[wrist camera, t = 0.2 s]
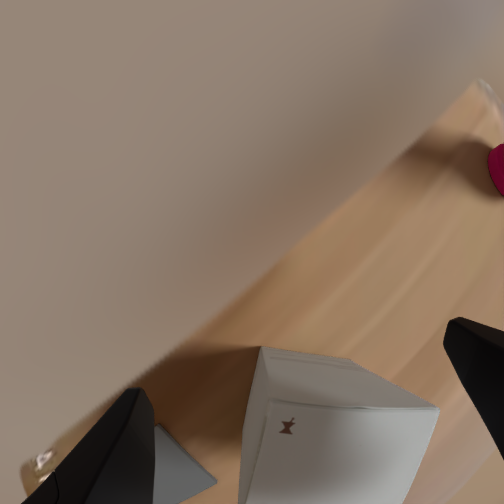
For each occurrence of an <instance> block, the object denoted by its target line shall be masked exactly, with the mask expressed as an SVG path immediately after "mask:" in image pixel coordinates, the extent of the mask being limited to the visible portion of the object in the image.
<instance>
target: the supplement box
mask: <svg viewBox="0 0 504 504" xmlns="http://www.w3.org/2000/svg"><path fill="white" fill-rule="evenodd" d="M439 413H440V408H438V407H437V406H435V405H433V404H431V403H429V402H428V401H426V400H424V399H422V398H420V397H418V396H417V395H415V394H413V393H411V392H409V391H407V390H405V389H403V388H401V387H399V386H397V385H395V384H393V383H392V382H390V381H388V380H386V379H384V378H382V377H380V376H378V375H377V374H375V373H373V372H371V371H369V370H367V369H365V368H364V367H362V366H360V365H358V364H357V363H355V362H353V361H352V360H350V359H343V358H337V357H330V356H322V355H315V354H308V353H301V352H295V351H288V350H282V349H276V348H270V347H264V346H261V347H260V351H259V356H258V360H257V365H256V369H255V373H254V378H253V382H252V386H251V391H250V395H249V400H248V405H247V410H246V415H245V420H244V424H243V429H242V449H241V465H240V478H239V494H238V504H402V503H403V501H404V499H405V497H406V495H407V493H408V491H409V488H410V486H411V484H412V482H413V480H414V477H415V475H416V473H417V470H418V468H419V465H420V463H421V461H422V458H423V456H424V454H425V451H426V449H427V446H428V444H429V441H430V439H431V436H432V433H433V430H434V428H435V425H436V422H437V419H438V416H439Z"/></svg>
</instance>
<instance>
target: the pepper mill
mask: <svg viewBox="0 0 504 504" xmlns="http://www.w3.org/2000/svg"><path fill="white" fill-rule="evenodd" d="M488 167H489V171H490V175H491V177H492V180H493V182H494V184H495V185H496V187H497V189H498V190H499V191H500V193H501V194H502V195H503V196H504V144H500V145H498V146H497V147H496V148H494V149H493V150H492V151H491V152H490V154H489V156H488Z"/></svg>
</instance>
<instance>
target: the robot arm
mask: <svg viewBox="0 0 504 504" xmlns="http://www.w3.org/2000/svg"><path fill="white" fill-rule="evenodd" d="M443 346H444V349H445V351H446V353H447V355H448V357H449V359H450V361H451V363H452V365H453V367H454V369H455V371H456V373H457V375H458V377H459V379H460V381H461V383H462V385H463V387H464V388H465V390H466V392H467V393H468V395H469V397H470V398H471V400H472V402H473V404H474V405H475V407H476V409H477V411H478V412H479V414H480V416H481V418H482V419H483V421H484V423H485V425H486V427H487V428H488V430H489V432H490V434H491V436H492V438H493V440H494V442H495V444H496V446H497V448H498V449H499V452H500V454H501V456H502V458H503V460H504V331H501V330H498V329H495V328H492V327H489V326H486V325H483V324H480V323H478V322H475V321H472V320H469V319H466V318H463V317H457V318H454V319H452V320H450V321H449V322H448V324H447V328H446V332H445V336H444V340H443ZM154 476H155V430H154V410H153V406H152V404H151V403H150V401H149V399H148V397H147V395H146V393H145V391H144V390H143V389H142V388H140V387H137V388H128V389H126V390H125V391H124V393H123V394H122V395H121V396H120V397H119V398H118V399H117V400H116V401H115V403H114V404H113V405H112V406H111V407H110V408H109V409H108V410H107V412H106V413H105V414H104V415H103V416H102V417H101V418H100V419H99V420H98V422H97V423H96V424H95V425H94V426H93V427H92V428H91V429H90V431H89V432H88V433H87V434H86V435H85V436H84V437H83V438H82V439H81V441H80V442H79V443H78V444H77V445H76V446H75V447H74V448H73V450H72V451H71V452H70V453H69V454H68V455H67V456H66V457H65V458H64V460H63V461H62V462H61V463H60V464H59V465H58V466H57V467H56V469H55V472H54V471H53V472H52V473H51V474H50V475H49V476H48V477H47V479H46V480H45V481H44V482H43V483H42V484H41V485H40V486H39V487H38V488H37V489H36V490H35V491H34V492H33V493H32V494H31V495H30V496H29V497H28V498H27V499H26V500H25V501H24V502H22V503H21V504H153V492H154Z"/></svg>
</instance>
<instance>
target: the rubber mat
mask: <svg viewBox="0 0 504 504" xmlns="http://www.w3.org/2000/svg"><path fill="white" fill-rule="evenodd" d="M154 430H155V476H154V492H153V504H178V503H180V502H182V501H184V500H186V499H188V498H190V497H192V496H194V495H196V494H198V493H200V492H202V491H204V490H206V489H207V488H209V487H211V486H213V485H215V484H216V483H217V480H216V479H215V478H214V477H213V476H212V475H211V474H210V473H209V472H207V471H206V470H205V469H204V468H203V467H202V466H201V465H200V464H199V463H198V462H197V461H196V460H194V459H193V458H192V457H191V456H190V455H189V454H188V453H187V452H186V451H185V450H184V449H183V448H182V447H181V446H180V445H179V444H178V443H177V442H176V441H175V440H174V439H173V438H172V437H171V436H170V435H169V434H168V432H167V431H166V430H165V429H164V428H163V427H162V426H161V425H160V424H158V425H156V426H155V427H154Z"/></svg>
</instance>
